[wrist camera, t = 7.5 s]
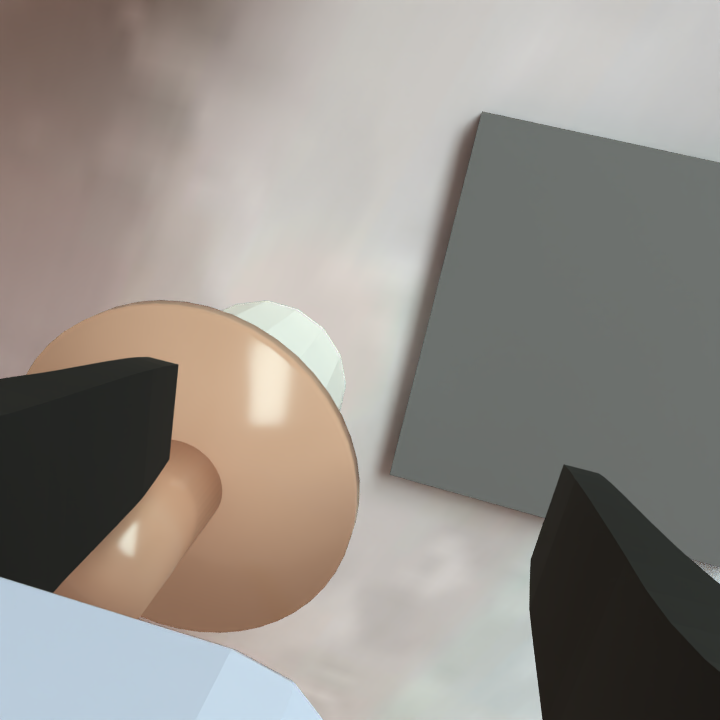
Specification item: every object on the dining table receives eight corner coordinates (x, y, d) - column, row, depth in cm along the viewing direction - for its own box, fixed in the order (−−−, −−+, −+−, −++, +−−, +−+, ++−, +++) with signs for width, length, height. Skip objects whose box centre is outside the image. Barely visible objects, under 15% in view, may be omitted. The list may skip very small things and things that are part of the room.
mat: (735, 559, 22) (744, 574, 21) (392, 463, 23) (389, 474, 23) (914, 205, 18) (933, 208, 17) (482, 112, 19) (481, 111, 18)
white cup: (396, 338, 22) (356, 424, 15) (318, 494, 24) (256, 625, 18) (213, 248, 22) (97, 296, 15) (154, 412, 25) (34, 513, 18)
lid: (321, 656, 18) (272, 813, 14) (22, 561, 19) (-108, 681, 15) (397, 356, 15) (361, 443, 10) (31, 259, 15) (-134, 303, 11)
